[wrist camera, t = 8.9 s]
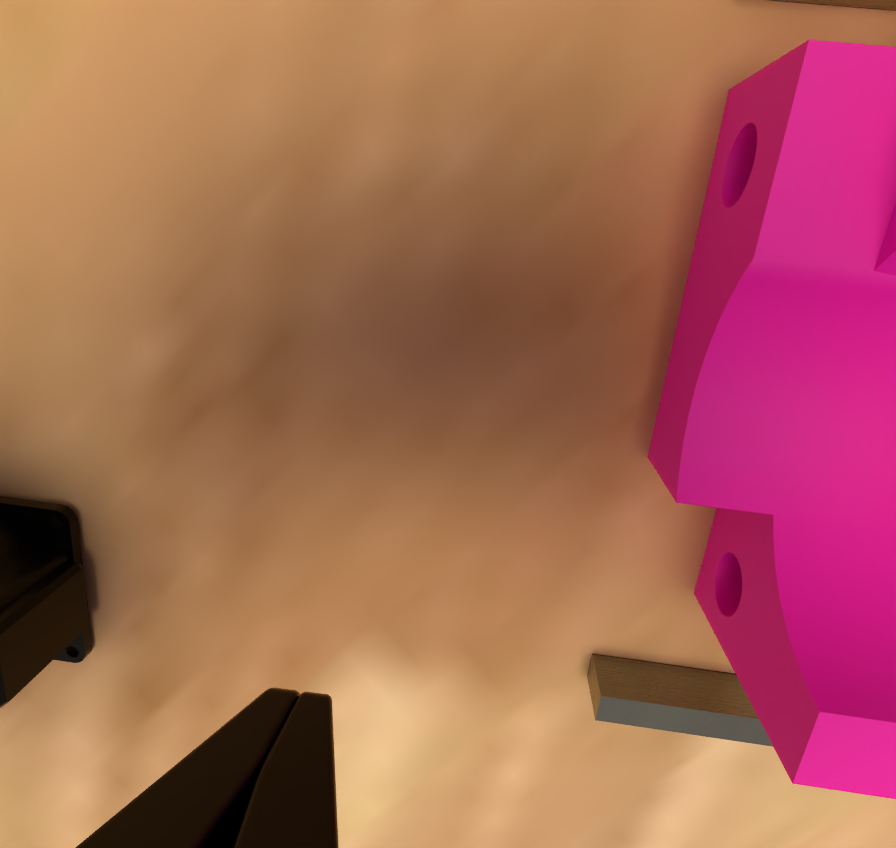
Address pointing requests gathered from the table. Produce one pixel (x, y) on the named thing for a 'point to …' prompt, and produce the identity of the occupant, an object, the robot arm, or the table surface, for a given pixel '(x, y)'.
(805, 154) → the toy block
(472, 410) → the table surface
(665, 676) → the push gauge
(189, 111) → the table surface
